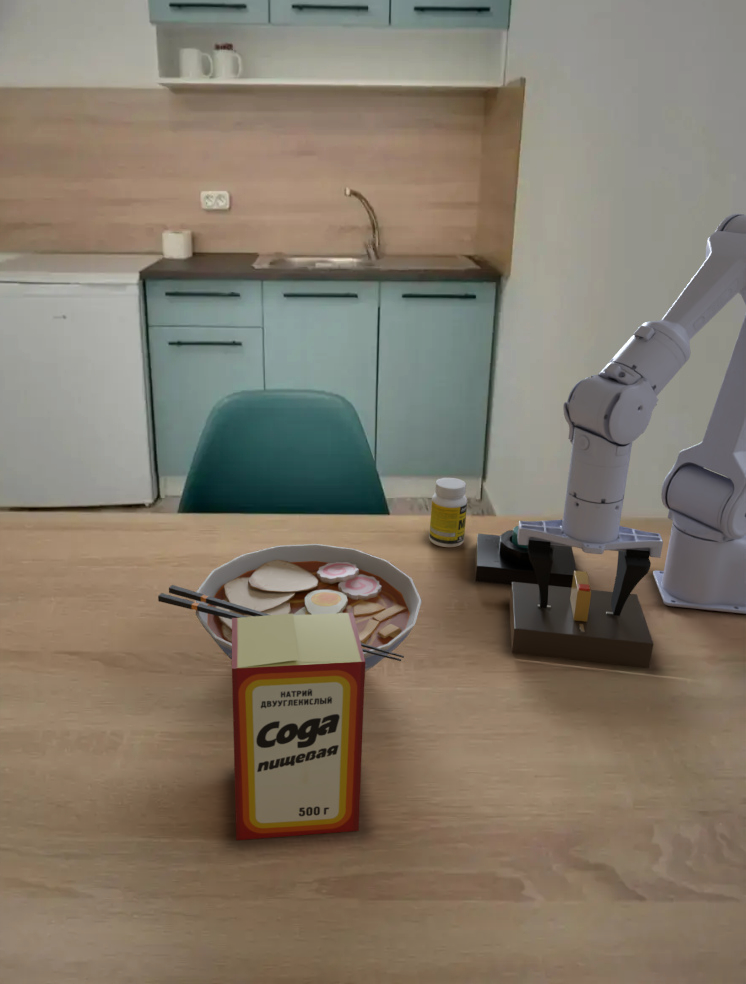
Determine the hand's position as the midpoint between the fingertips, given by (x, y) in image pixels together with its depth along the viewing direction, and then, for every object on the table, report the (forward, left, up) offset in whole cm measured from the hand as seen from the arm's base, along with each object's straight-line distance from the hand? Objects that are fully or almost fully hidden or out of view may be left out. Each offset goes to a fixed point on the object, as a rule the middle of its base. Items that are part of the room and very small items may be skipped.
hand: (578, 606), depth 90 cm
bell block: (+5, -14, -3) cm, 15 cm away
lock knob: (0, 0, 0) cm, 0 cm away
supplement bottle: (+15, -20, -4) cm, 25 cm away
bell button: (+5, -14, 0) cm, 15 cm away
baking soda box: (+25, +30, -4) cm, 39 cm away
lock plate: (0, 0, -3) cm, 3 cm away
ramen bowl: (+28, +10, -4) cm, 30 cm away
